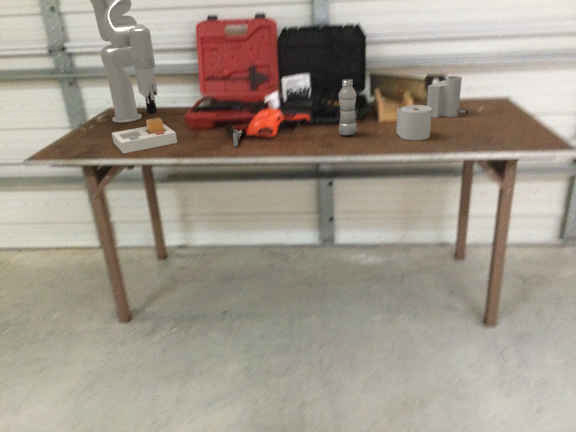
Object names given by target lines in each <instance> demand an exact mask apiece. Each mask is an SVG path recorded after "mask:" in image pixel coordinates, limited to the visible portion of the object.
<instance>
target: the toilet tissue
mask: <svg viewBox="0 0 576 432" xmlns="http://www.w3.org/2000/svg"><path fill="white" fill-rule="evenodd" d="M431 112H432V108H431V107H429V106H427V105H424V104H412V105H411V104H410V105H404V106H401V107H400V108H399V107H398V106H396V132H395V133H396V134H397V135H398V136H399V138H401V139H403V140H406V141H423V140H427V139H430V136H431V126H432V125H431V123H432V117H431Z"/></svg>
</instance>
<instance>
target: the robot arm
mask: <svg viewBox="0 0 576 432" xmlns="http://www.w3.org/2000/svg"><path fill="white" fill-rule="evenodd" d="M89 1H90V3H91V5H92V8H93V12H94V16H95V21H96V24H97V25H96V26H97V30H98V33H99V37H100V38H101V40H103V41H104V42H110V45H106V46H104V47H103V48H102V49H101V50H100V59H101V61H102V64H103V66H104V67H103V68H104V69H105V73H106V77H107V81H108V86H109V90H110V95H111V100H112V101H111V102H112V106H113V110H114V116H113V117H112V122H113V123H120V124H123V123H124V124H125V123H132V122H135V121H138V120H141V119H142V117H143V115H142V114H141V113H138V109H137V102H136V98H135V93H134V88H133V81H132V78H131V76H130V75H129V74H128V73H127V72H126V71H125V70H124V69H125V68H129V67H134V70H135V71H136V72H135V75H136V82H137V89H138V93H139V94H140V95H141V96H143V97H144V100H145V106H146V107H145V108H146V113H147V114H148V115H155V114H157V113H158V112H157V110H158V109H157V106H156V105H157V103H156V96H157V95H158V87H157V81H156V76H155V72H154V71H155V70H154V68H156V62H155V56H154V55H155V53H154V48H153V41H152V35H151V30H150V28H149V27H147V26H146V25H144V24H140V23H137V20H136V19H135V18H134V17H133V16H132V15H125V14H127V13H128V12H129V11H130V10H131V7H132V1H131V0H89Z"/></svg>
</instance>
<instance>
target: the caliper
mask: <svg viewBox="0 0 576 432" xmlns="http://www.w3.org/2000/svg"><path fill="white" fill-rule="evenodd" d="M232 132H233V133H232V138H233V147H234V148H238V146H239V139H240V138H241V136H242V135H241V133H242V131H241V130H237V129H233V131H232Z"/></svg>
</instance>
